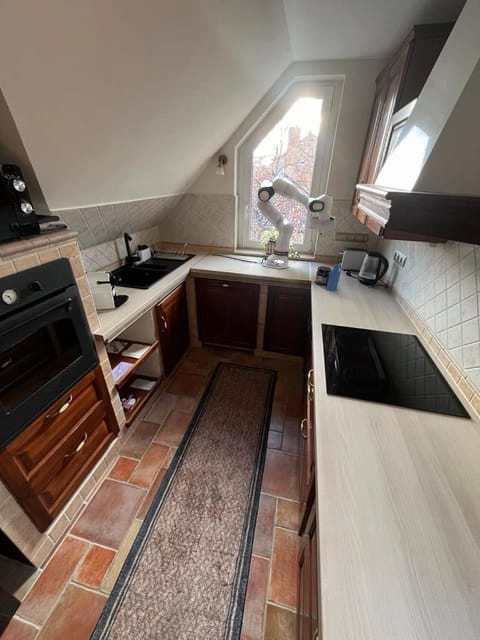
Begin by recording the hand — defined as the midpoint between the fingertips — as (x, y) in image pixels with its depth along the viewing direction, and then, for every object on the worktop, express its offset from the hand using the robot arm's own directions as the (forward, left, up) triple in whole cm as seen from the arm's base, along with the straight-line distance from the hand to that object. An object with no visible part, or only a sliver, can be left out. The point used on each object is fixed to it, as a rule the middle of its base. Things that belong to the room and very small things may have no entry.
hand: (320, 235), depth 206 cm
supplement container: (+7, -31, -29) cm, 43 cm away
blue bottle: (+14, -40, -29) cm, 51 cm away
